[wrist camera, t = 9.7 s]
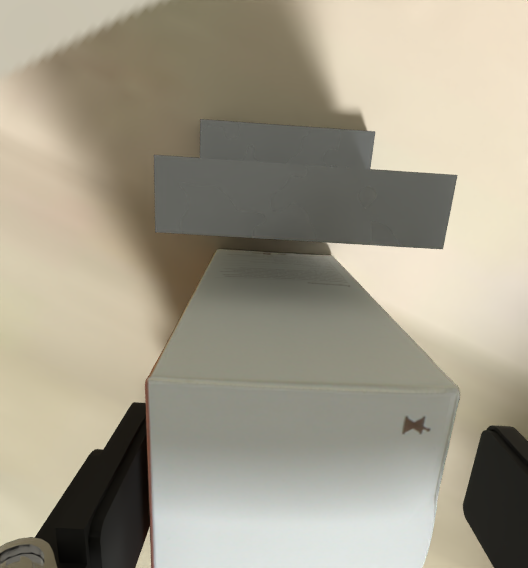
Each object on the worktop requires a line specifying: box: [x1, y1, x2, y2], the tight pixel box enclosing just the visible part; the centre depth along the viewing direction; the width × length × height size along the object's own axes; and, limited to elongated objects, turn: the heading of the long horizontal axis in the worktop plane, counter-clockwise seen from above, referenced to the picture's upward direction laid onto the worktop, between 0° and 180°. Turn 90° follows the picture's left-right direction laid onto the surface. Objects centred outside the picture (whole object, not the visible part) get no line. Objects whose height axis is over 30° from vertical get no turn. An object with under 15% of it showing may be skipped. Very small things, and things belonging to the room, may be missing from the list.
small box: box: [145, 249, 460, 568], centre depth 14 cm, size 8×6×13 cm
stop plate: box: [154, 119, 457, 249], centre depth 14 cm, size 8×4×9 cm, turn 86°
